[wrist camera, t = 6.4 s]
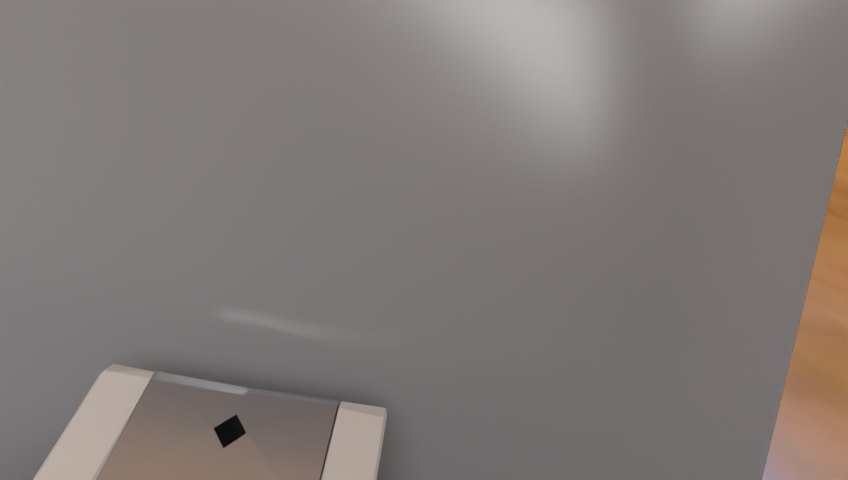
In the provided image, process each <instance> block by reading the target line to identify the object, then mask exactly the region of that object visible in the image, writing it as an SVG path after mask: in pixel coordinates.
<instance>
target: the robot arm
mask: <svg viewBox="0 0 848 480" xmlns="http://www.w3.org/2000/svg"><path fill="white" fill-rule="evenodd" d="M386 419H387V410H386V408H383V407H377V406H370V405H363V404H356V403H350V402H343V401H341V403H340V401H335V400H329V399H322V398H315V397H309V396H302V395H295V394H289V393H282V392H276V391H269V390H262V389H256V388H246V387H240V386H235V385H230V384H224V383H219V382H213V381H208V380H203V379H197V378H192V377H187V376H181V375H176V374H170V373H165V372H154V371H149V370H143V369H138V368H133V367H128V366H123V365H117V364H112V365H111V366H109V367H108V368H107V369H105V370H104V371H103V372H102V373H100V375H99V376H98V378H97V380H96V381H95V383H94V384H93V386H92V387H91V389H90V391H89V392H88V394H87V395H86V397H85V398H84V400H83V402H82V403H81V405H80V406H79V408H78V409H77V411H76V413H75V414H74V416H73V417H72V419H71V420H70V422H69V424H68V425H67V427H66V428H65V430H64V431H63V433H62V435H61V436H60V438H59V439H58V441H57V442H56V444H55V446H54V447H53V449H52V450H51V452H50V453H49V455H48V457H47V458H46V460H45V461H44V463H43V464H42V466H41V468H40V469H39V471H38V472H37V474H36V475H35V477H34V479H33V480H377V474H378V468H379V462H380V456H381V450H382V443H383V437H384V431H385V425H386Z"/></svg>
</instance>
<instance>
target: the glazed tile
mask: <svg viewBox="0 0 848 480" xmlns="http://www.w3.org/2000/svg"><path fill="white" fill-rule="evenodd" d="M847 123H848V0H0V480H33V479H34V477H35V475H36V474H37V472H38V471H39V469H40V468H41V466H42V464H43V463H44V461H45V460H46V458H47V457H48V455H49V453H50V452H51V450H52V449H53V447H54V446H55V444H56V442H57V441H58V439H59V438H60V436H61V435H62V433H63V431H64V430H65V428H66V427H67V425H68V424H69V422H70V420H71V419H72V417H73V416H74V414H75V413H76V411H77V409H78V408H79V406H80V405H81V403H82V402H83V400H84V398H85V397H86V395H87V394H88V392H89V391H90V389H91V387H92V386H93V384H94V383H95V381H96V380H97V378H98V376H99V375H100V373H102V372H103V371H104V370H105V369H107V368H108V367H109V366H111V365H112V364H117V365H123V366H128V367H133V368H138V369H143V370H149V371H154V372H165V373H170V374H176V375H181V376H187V377H192V378H197V379H203V380H208V381H213V382H219V383H224V384H230V385H235V386H240V387H246V388H256V389H262V390H269V391H276V392H282V393H289V394H295V395H302V396H309V397H315V398H322V399H329V400H335V401H340V403H341V401H343V402H350V403H356V404H363V405H370V406H377V407H383V408H386V410H387V419H386V425H385V431H384V437H383V443H382V450H381V456H380V462H379V468H378V474H377V480H762V476H763V472H764V468H765V464H766V459H767V455H768V451H769V447H770V443H771V439H772V435H773V430H774V426H775V422H776V418H777V414H778V410H779V406H780V401H781V397H782V393H783V389H784V385H785V381H786V376H787V372H788V368H789V364H790V360H791V356H792V352H793V347H794V343H795V339H796V335H797V331H798V327H799V322H800V318H801V314H802V310H803V306H804V302H805V298H806V293H807V289H808V285H809V281H810V277H811V273H812V269H813V264H814V260H815V256H816V252H817V248H818V244H819V239H820V235H821V231H822V227H823V223H824V219H825V215H826V210H827V206H828V202H829V198H830V194H831V190H832V185H833V181H834V177H835V173H836V169H837V165H838V161H839V156H840V152H841V148H842V144H843V140H844V136H845V132H846V127H847Z"/></svg>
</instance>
